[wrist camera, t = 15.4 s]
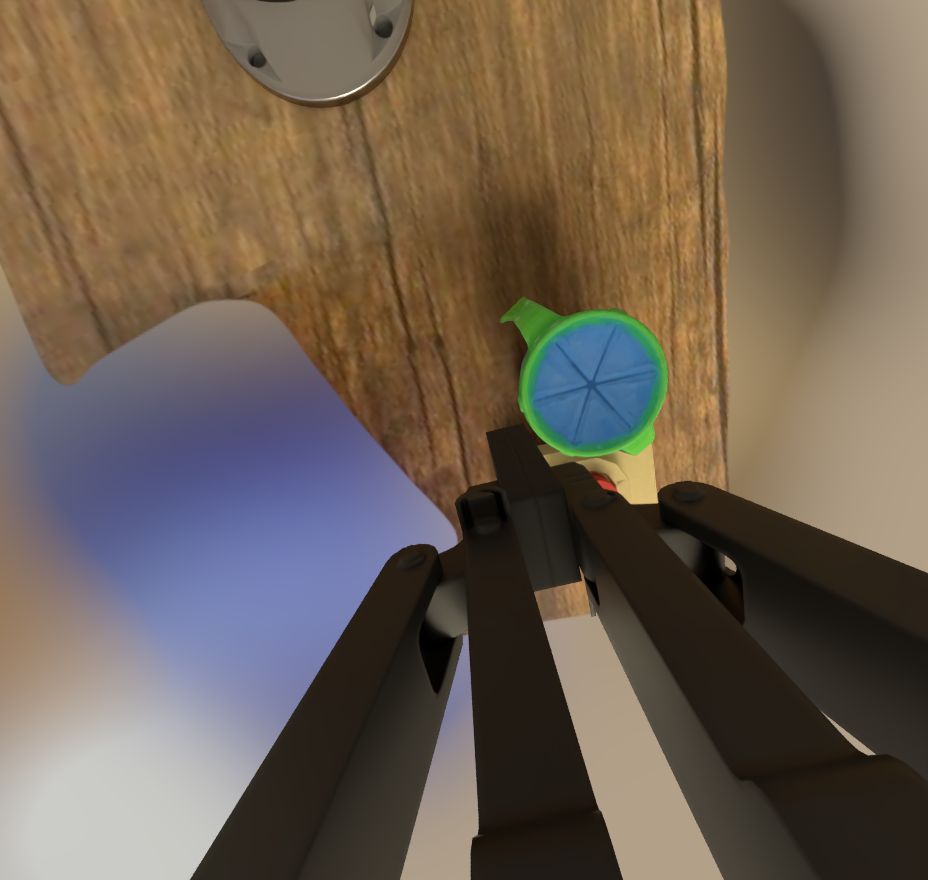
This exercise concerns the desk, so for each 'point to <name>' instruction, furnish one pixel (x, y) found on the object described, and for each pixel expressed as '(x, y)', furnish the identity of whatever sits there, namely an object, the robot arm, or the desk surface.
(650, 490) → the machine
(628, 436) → the snack cup
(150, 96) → the desk surface
